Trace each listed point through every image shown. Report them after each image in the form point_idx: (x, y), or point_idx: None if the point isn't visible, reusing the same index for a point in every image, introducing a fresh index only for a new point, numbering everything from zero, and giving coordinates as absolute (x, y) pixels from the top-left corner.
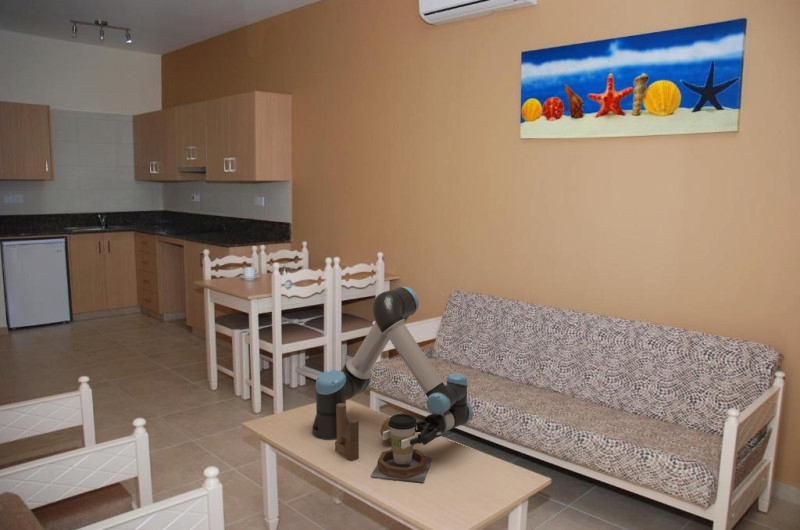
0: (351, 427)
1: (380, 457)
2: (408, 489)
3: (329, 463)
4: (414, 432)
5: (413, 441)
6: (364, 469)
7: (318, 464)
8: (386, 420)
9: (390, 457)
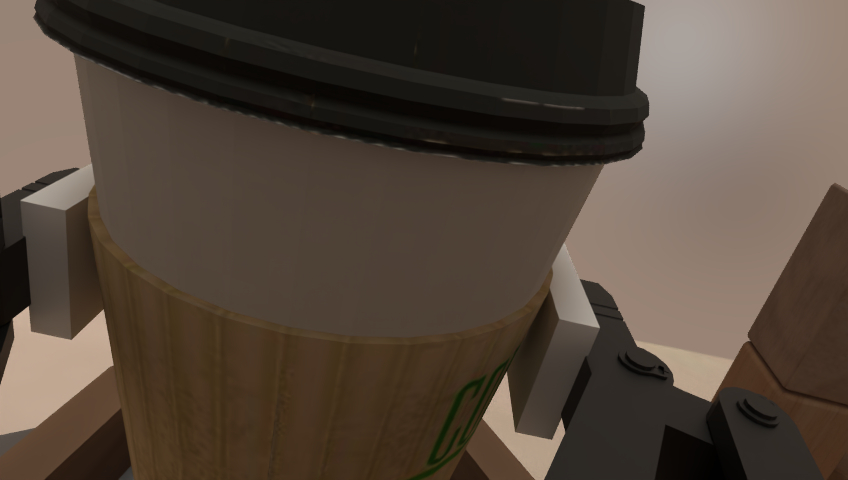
0: (814, 227)
1: (479, 430)
2: (47, 356)
3: (696, 384)
4: (97, 197)
5: (52, 180)
6: (508, 420)
7: (706, 356)
8: None
9: None
